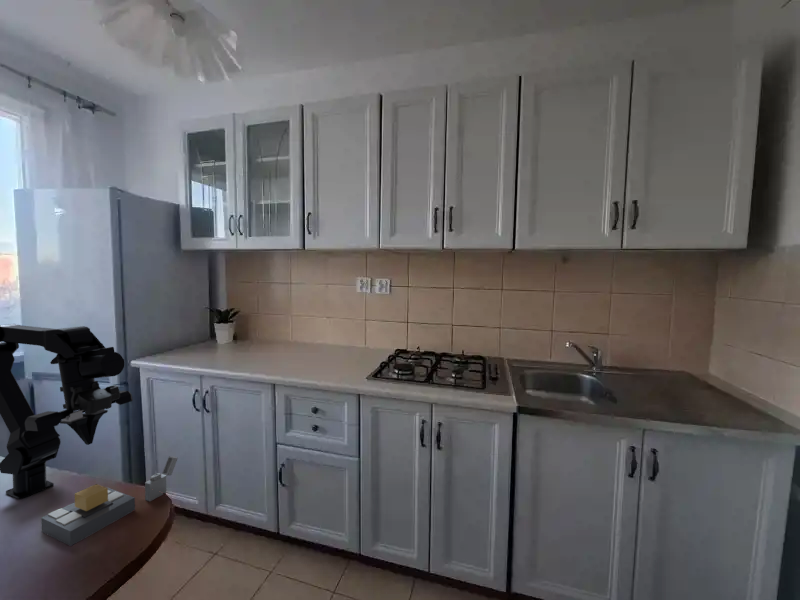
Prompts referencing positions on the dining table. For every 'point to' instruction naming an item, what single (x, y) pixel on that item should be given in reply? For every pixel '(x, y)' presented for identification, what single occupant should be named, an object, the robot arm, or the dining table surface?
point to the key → (91, 497)
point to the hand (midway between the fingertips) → (89, 444)
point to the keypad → (86, 518)
